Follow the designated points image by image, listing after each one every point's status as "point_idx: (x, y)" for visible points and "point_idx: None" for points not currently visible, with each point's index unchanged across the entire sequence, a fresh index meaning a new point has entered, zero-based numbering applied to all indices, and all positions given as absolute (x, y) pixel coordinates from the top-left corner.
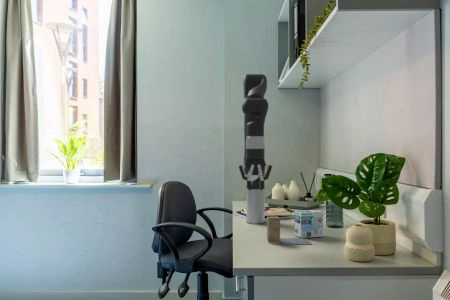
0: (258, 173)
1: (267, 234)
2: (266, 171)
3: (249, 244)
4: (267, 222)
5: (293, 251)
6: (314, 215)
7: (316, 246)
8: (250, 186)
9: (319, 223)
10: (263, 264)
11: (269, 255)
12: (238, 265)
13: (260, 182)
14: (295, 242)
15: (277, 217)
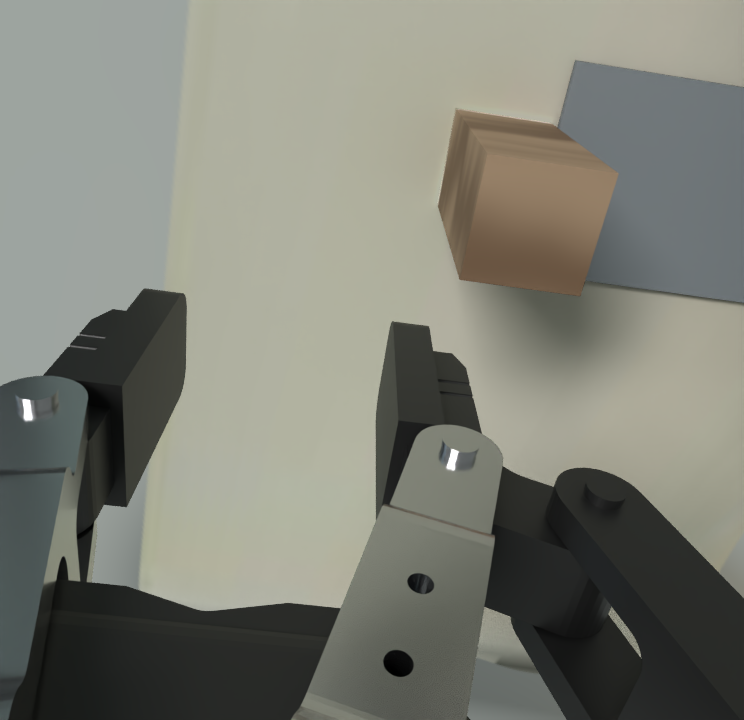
0: (367, 554)
1: (457, 144)
2: (682, 693)
3: (274, 204)
4: (472, 169)
5: (518, 429)
6: None
7: (736, 350)
8: (157, 431)
9: None
10: (269, 593)
11: (342, 476)
12: (145, 587)
13: (377, 514)
14: (648, 241)
15: (582, 233)
